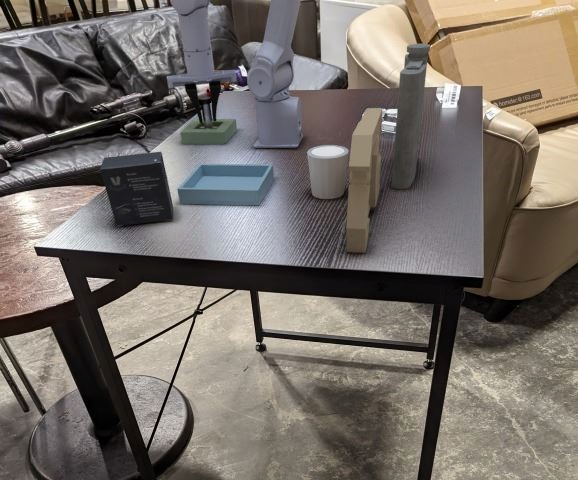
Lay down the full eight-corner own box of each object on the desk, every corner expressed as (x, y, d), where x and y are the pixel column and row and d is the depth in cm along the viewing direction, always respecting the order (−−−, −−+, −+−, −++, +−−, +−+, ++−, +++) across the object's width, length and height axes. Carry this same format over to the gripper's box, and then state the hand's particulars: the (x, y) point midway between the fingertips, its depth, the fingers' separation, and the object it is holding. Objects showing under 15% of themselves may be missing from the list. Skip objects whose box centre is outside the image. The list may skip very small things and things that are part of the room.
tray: (274, 178, 98) (273, 164, 96) (259, 205, 89) (257, 190, 87) (201, 177, 100) (199, 163, 98) (179, 203, 91) (177, 188, 89)
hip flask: (397, 157, 102) (407, 36, 89) (418, 158, 102) (431, 35, 88) (390, 189, 91) (401, 54, 78) (414, 189, 90) (429, 54, 77)
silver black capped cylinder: (221, 134, 120) (216, 95, 115) (216, 139, 117) (210, 100, 112) (204, 134, 121) (198, 95, 116) (198, 140, 118) (192, 100, 113)
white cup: (308, 186, 94) (307, 145, 89) (346, 184, 94) (347, 143, 89) (308, 201, 89) (306, 158, 84) (348, 199, 88) (349, 156, 84)
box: (174, 207, 90) (162, 150, 84) (173, 221, 86) (161, 161, 80) (119, 214, 89) (103, 156, 83) (116, 227, 85) (99, 168, 79)
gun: (366, 257, 73) (373, 140, 64) (343, 256, 73) (346, 140, 65) (379, 202, 92) (385, 106, 83) (360, 201, 93) (364, 106, 84)
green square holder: (237, 130, 122) (235, 118, 120) (225, 144, 115) (223, 132, 113) (196, 130, 124) (194, 118, 122) (182, 144, 116) (180, 132, 115)
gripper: (231, 43, 112) (238, 112, 121) (162, 49, 110) (175, 119, 119) (233, 48, 106) (241, 121, 115) (162, 55, 105) (175, 128, 114)
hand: (208, 120), depth 117 cm, fingers closed on silver black capped cylinder, 2 cm apart
